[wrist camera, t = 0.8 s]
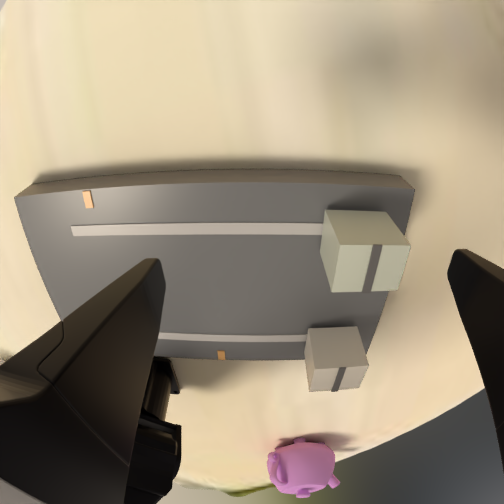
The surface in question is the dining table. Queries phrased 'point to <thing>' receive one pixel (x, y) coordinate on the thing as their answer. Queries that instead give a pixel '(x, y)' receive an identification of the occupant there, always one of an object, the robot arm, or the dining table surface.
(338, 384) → the block
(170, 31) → the dining table surface
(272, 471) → the teapot
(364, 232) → the sage fader
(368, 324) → the console
